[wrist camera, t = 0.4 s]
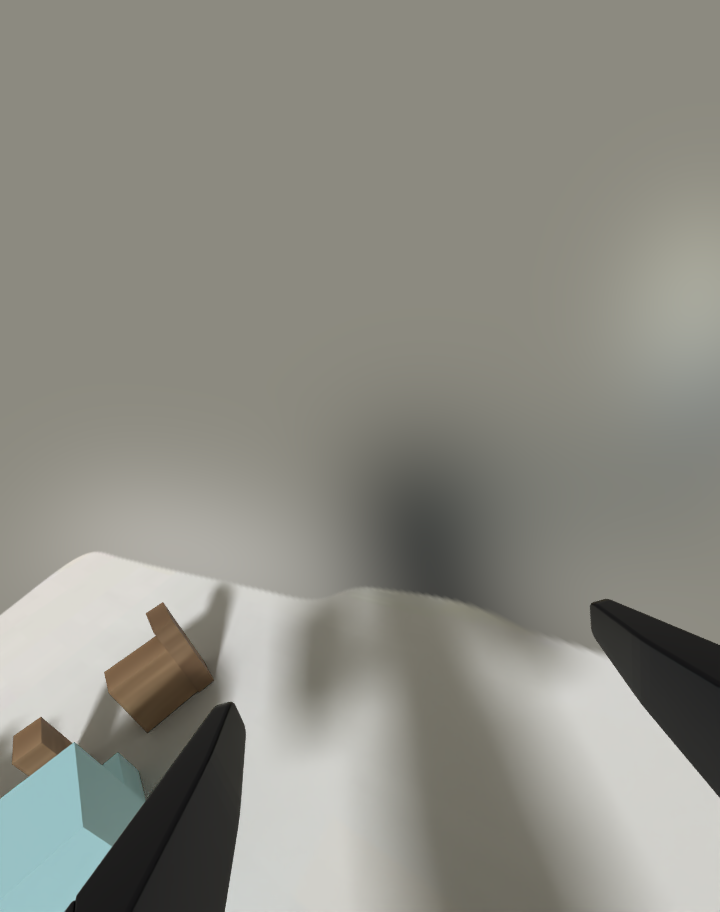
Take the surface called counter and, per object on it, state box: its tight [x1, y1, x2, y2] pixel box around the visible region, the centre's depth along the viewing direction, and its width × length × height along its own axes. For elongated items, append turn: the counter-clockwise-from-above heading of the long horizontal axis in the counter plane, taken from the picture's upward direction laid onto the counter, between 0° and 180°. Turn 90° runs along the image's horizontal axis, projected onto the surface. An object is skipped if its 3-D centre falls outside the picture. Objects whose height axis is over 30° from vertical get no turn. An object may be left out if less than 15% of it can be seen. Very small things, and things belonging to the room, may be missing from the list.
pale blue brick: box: [0, 742, 146, 912], centre depth 16 cm, size 8×8×9 cm
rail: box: [12, 602, 214, 776], centre depth 22 cm, size 2×18×7 cm, turn 133°
